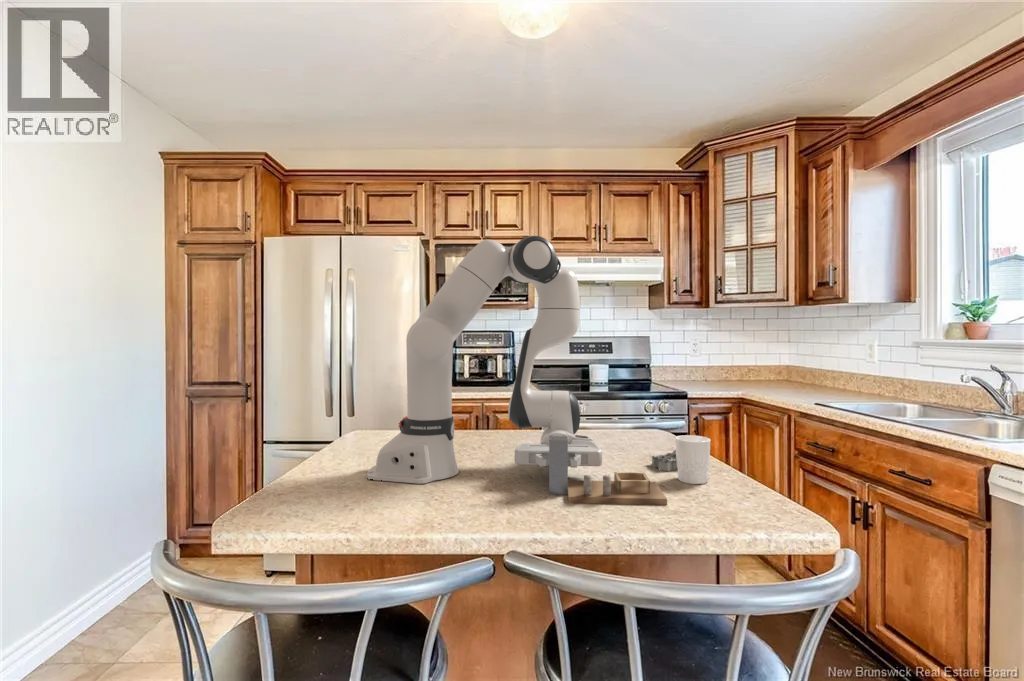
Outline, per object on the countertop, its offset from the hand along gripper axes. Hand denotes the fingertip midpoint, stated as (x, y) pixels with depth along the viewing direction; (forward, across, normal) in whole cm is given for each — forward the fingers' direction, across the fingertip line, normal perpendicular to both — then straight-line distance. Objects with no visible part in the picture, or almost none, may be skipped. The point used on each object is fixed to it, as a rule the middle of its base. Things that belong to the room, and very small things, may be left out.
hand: (558, 463), depth 111 cm
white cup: (-12, +32, +7) cm, 35 cm away
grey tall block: (-1, 0, +6) cm, 7 cm away
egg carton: (-24, +30, +7) cm, 39 cm away
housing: (0, +12, +6) cm, 14 cm away
